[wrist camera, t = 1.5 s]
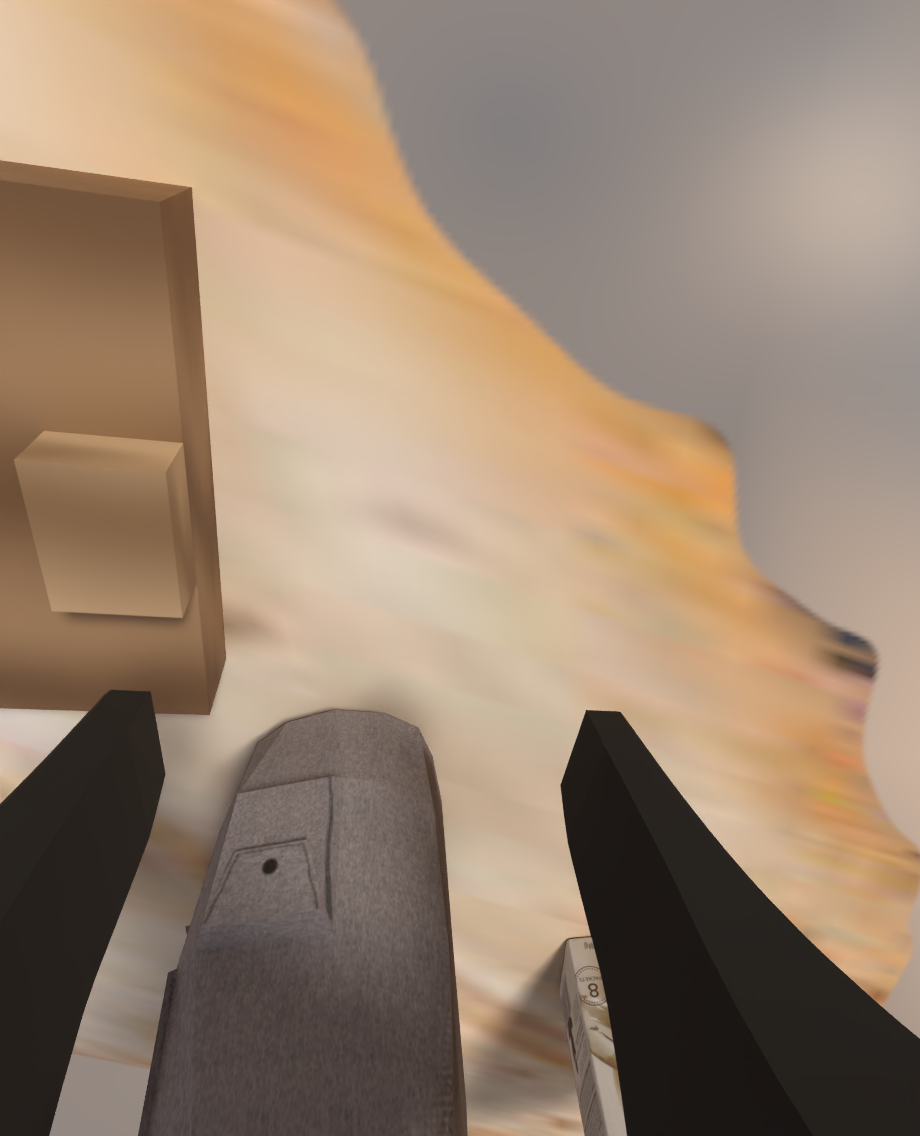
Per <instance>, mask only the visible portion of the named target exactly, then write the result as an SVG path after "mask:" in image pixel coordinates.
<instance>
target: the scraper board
mask: <svg viewBox="0 0 920 1136" xmlns="http://www.w3.org/2000/svg"><path fill="white" fill-rule="evenodd" d="M225 660H226V650H225V637H224V623H223V609H222V596H221V582H220V568H219V555H218V541H217V527H216V514H215V500H214V486H213V473H212V459H211V445H210V431H209V418H208V404H207V390H206V377H205V363H204V349H203V336H202V322H201V308H200V295H199V281H198V267H197V254H196V240H195V226H194V213H193V199H192V187H185V186H178V185H171V184H164V183H157V182H150V181H143V180H136V179H128V178H121V177H114V176H107V175H100V174H93V173H86V172H79V171H72V170H65V169H57V168H50V167H43V166H36V165H29V164H22V163H15V162H8V161H1V160H0V708H13V709H44V710H75V711H90V710H91V709H92V707H93V706H94V705H95V704H96V703H97V702H98V701H99V700H100V699H101V697H102V696H103V695H104V694H106V693H107V692H108V691H110V690H130V691H151V696H152V701H153V707H154V713H168V714H199V715H210V711H211V708H212V705H213V701H214V698H215V694H216V691H217V688H218V684H219V681H220V677H221V674H222V670H223V667H224V664H225Z"/></svg>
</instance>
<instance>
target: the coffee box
mask: <svg viewBox="0 0 920 1136" xmlns="http://www.w3.org/2000/svg"><path fill="white" fill-rule="evenodd" d="M559 994H560V1001H561V1006H562V1011H563V1016H564V1022H565V1027H566V1033H567V1038H568V1044H569V1049H570V1055H571V1061H572V1066H573V1072H574V1078H575V1084H576V1090H577V1096H578V1101H579V1107H580V1112H581V1118H582V1123H583V1128H584V1134H585V1136H627V1133H626V1126H625V1119H624V1112H623V1104H622V1097H621V1090H620V1083H619V1076H618V1069H617V1063H616V1056H615V1050H614V1044H613V1038H612V1031H611V1025H610V1019H609V1012H608V1006H607V1001H606V996H605V992H604V987H603V982H602V978H601V973H600V969H599V965H598V961H597V957H596V953H595V949H594V945H593V941H592V938H591V937H584V938H574V939H569V940H567V943H566V949H565V956H564V963H563V969H562V975H561V983H560V990H559Z"/></svg>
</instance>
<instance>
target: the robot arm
mask: <svg viewBox="0 0 920 1136" xmlns="http://www.w3.org/2000/svg"><path fill="white" fill-rule="evenodd" d="M164 778H165V769H164V764H163V758H162V752H161V747H160V741H159V735H158V730H157V724H156V718H155V713H154V707H153V701H152V696H151V691H130V690H110V691H108V692H107V693H106V694H104V695H103V696H102V697H101V699H100V700H99V701H98V702H97V703H96V704H95V705H94V706H93V707H92V709H91V710H90V711H89V712H88V713H87V714H86V715H85V716H84V717H83V718H82V720H81V721H80V722H79V723H78V724H77V725H76V726H75V727H74V728H73V729H72V730H71V732H70V733H69V734H68V735H67V736H66V737H65V738H64V739H63V740H62V741H61V742H60V743H59V744H58V745H57V746H56V748H55V749H54V750H53V751H52V752H51V753H50V754H49V755H48V756H47V757H46V758H45V759H44V760H43V761H42V762H41V763H40V764H39V765H38V766H37V767H36V768H35V769H34V770H33V771H32V773H31V774H30V775H29V776H28V777H27V778H26V779H25V780H24V781H23V782H22V783H21V784H20V785H19V786H18V787H17V788H16V789H15V790H14V791H13V792H12V793H11V794H10V795H9V796H8V797H7V798H6V799H5V800H4V801H3V802H2V803H1V804H0V1136H49V1134H50V1130H51V1127H52V1123H53V1119H54V1115H55V1111H56V1108H57V1104H58V1101H59V1097H60V1093H61V1089H62V1085H63V1082H64V1079H65V1075H66V1072H67V1068H68V1065H69V1061H70V1058H71V1054H72V1051H73V1047H74V1044H75V1040H76V1037H77V1033H78V1030H79V1026H80V1023H81V1019H82V1016H83V1012H84V1009H85V1007H86V1004H87V1001H88V998H89V995H90V992H91V989H92V986H93V983H94V980H95V978H96V975H97V972H98V970H99V967H100V965H101V962H102V959H103V957H104V954H105V952H106V949H107V946H108V944H109V941H110V939H111V936H112V933H113V931H114V928H115V926H116V923H117V920H118V918H119V915H120V913H121V910H122V908H123V905H124V902H125V900H126V897H127V895H128V892H129V889H130V887H131V884H132V882H133V879H134V876H135V874H136V871H137V868H138V866H139V863H140V860H141V858H142V855H143V853H144V850H145V847H146V844H147V842H148V839H149V836H150V833H151V829H152V825H153V821H154V818H155V814H156V810H157V806H158V802H159V798H160V794H161V790H162V786H163V782H164ZM561 793H562V802H563V810H564V818H565V825H566V832H567V839H568V845H569V849H570V853H571V858H572V862H573V866H574V870H575V874H576V878H577V882H578V886H579V890H580V894H581V898H582V902H583V906H584V910H585V914H586V918H587V922H588V926H589V930H590V934H591V938H592V941H593V945H594V949H595V953H596V957H597V961H598V965H599V969H600V973H601V978H602V982H603V987H604V992H605V996H606V1001H607V1006H608V1012H609V1019H610V1025H611V1031H612V1038H613V1044H614V1050H615V1056H616V1063H617V1069H618V1076H619V1083H620V1090H621V1097H622V1104H623V1112H624V1119H625V1126H626V1133H627V1136H920V1039H919V1038H918V1037H917V1036H916V1035H914V1034H913V1033H912V1032H911V1031H910V1030H908V1029H907V1028H906V1027H905V1026H904V1025H902V1024H901V1023H900V1022H899V1021H898V1020H896V1019H895V1018H894V1017H893V1016H892V1015H891V1014H889V1013H888V1012H887V1011H886V1010H885V1009H884V1008H883V1007H881V1006H880V1005H879V1004H878V1003H877V1002H876V1001H875V1000H873V999H872V998H871V997H870V996H869V995H868V994H867V993H866V992H865V991H864V990H862V989H861V988H860V987H859V986H858V985H857V984H856V983H855V982H854V981H853V980H851V979H850V978H849V977H848V976H847V975H846V974H845V973H844V972H843V971H842V970H840V969H839V968H838V967H837V966H836V965H835V964H834V963H833V962H832V961H830V960H829V959H828V958H827V957H826V956H825V955H824V954H823V953H822V952H821V951H820V950H819V949H818V948H817V947H816V946H815V945H814V944H813V943H812V942H811V941H810V940H808V939H807V938H806V937H805V936H804V935H803V934H802V933H801V932H800V931H799V930H798V929H797V927H796V926H795V925H794V924H793V923H792V922H791V921H790V920H789V919H788V918H787V917H786V916H785V915H784V914H783V913H782V912H781V911H780V910H779V909H778V908H777V907H776V906H775V905H774V904H773V903H772V902H771V901H770V900H769V899H768V898H767V897H766V895H765V894H764V893H763V892H762V891H761V890H760V889H759V888H758V887H757V886H756V884H755V883H754V882H753V881H752V880H751V879H750V878H749V877H748V876H747V874H746V873H745V872H744V871H743V870H742V869H741V867H740V866H739V865H738V864H737V863H736V862H735V860H734V859H733V858H732V857H731V856H730V855H729V853H728V852H727V851H726V850H725V849H724V848H723V846H722V845H721V844H720V843H719V842H718V840H717V839H716V838H715V837H714V836H713V834H712V833H711V832H710V831H709V829H708V828H707V827H706V826H705V824H704V823H703V822H702V821H701V819H700V818H699V817H698V815H697V814H696V813H695V812H694V810H693V809H692V808H691V807H690V805H689V804H688V803H687V801H686V800H685V799H684V798H683V796H682V795H681V794H680V792H679V791H678V790H677V788H676V787H675V786H674V785H673V783H672V782H671V781H670V779H669V778H668V776H667V775H666V774H665V772H664V771H663V770H662V768H661V767H660V766H659V764H658V763H657V762H656V760H655V759H654V757H653V756H652V755H651V753H650V752H649V751H648V749H647V748H646V746H645V745H644V744H643V742H642V741H641V739H640V738H639V737H638V735H637V734H636V732H635V731H634V730H633V728H632V727H631V726H630V724H629V723H628V721H627V720H626V719H625V717H624V716H623V715H622V714H621V712H616V711H593V710H586V712H585V715H584V718H583V721H582V724H581V727H580V730H579V733H578V736H577V739H576V742H575V745H574V747H573V750H572V753H571V756H570V759H569V762H568V765H567V768H566V771H565V774H564V777H563V780H562V783H561Z"/></svg>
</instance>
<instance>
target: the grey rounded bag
mask: <svg viewBox="0 0 920 1136" xmlns="http://www.w3.org/2000/svg"><path fill="white" fill-rule="evenodd" d="M185 927H186V932H187V938H186V941H185V944H184V947H183V950H182V954H181V957H180V960H179V963H178V966H177V969H175V970H173V971H171V972H169V973H168V977H167V982H166V988H165V993H164V999H163V1004H162V1009H161V1015H160V1020H159V1026H158V1031H157V1036H156V1042H155V1047H154V1053H153V1058H152V1063H151V1069H150V1074H149V1080H148V1085H147V1091H146V1096H145V1101H144V1107H143V1113H142V1117H141V1123H140V1129H139V1134H138V1136H467V1111H466V1095H465V1083H464V1071H463V1059H462V1047H461V1036H460V1024H459V1012H458V1000H457V988H456V976H455V964H454V952H453V941H452V928H451V915H450V903H449V890H448V877H447V865H446V852H445V839H444V827H443V814H442V801H441V796H440V791H439V786H438V781H437V776H436V771H435V767H434V762H433V757H432V754H431V752H430V750H429V748H428V746H427V744H426V742H425V740H424V738H423V736H422V734H421V732H420V730H419V728H418V727H416V726H414V725H411V724H409V723H407V722H404V721H402V720H400V719H397V718H395V717H393V716H390V715H388V714H386V713H378V712H364V711H350V710H336V709H335V710H331V711H328V712H324V713H320V714H316V715H313V716H309V717H305V718H301V719H298V720H294V721H290V722H287V723H286V724H284V725H283V726H282V727H280V728H279V729H277V730H276V731H274V732H273V733H272V734H270V735H269V736H267V737H266V738H264V739H263V740H262V741H260V742H259V743H258V744H257V747H256V749H255V751H254V753H253V756H252V758H251V760H250V763H249V765H248V767H247V770H246V772H245V774H244V777H243V779H242V781H241V784H240V786H239V788H238V791H237V793H236V795H235V798H234V800H233V802H232V805H231V807H230V809H229V812H228V814H227V816H226V819H225V821H224V823H223V825H222V828H221V830H220V833H219V836H218V839H217V842H216V845H215V849H214V852H213V855H212V858H211V861H210V864H209V868H208V871H207V874H206V877H205V880H204V884H203V887H202V890H201V893H200V896H199V899H198V903H197V906H196V909H195V912H194V915H193V919H192V922H191V925H190V926H185Z"/></svg>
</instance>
